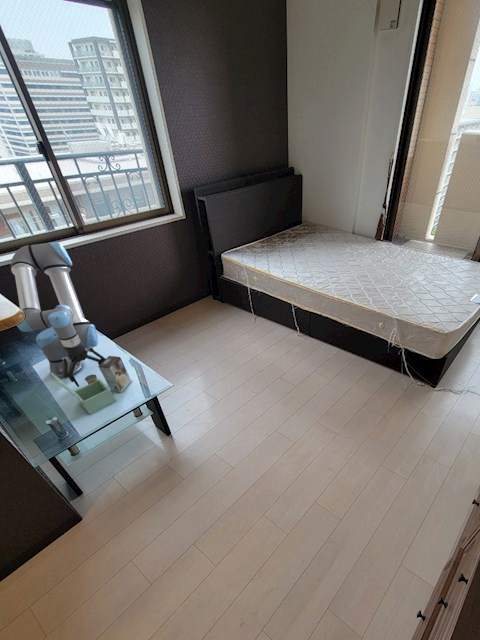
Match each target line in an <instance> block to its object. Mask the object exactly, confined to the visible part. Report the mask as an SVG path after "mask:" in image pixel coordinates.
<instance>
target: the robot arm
mask: <svg viewBox="0 0 480 640" xmlns="http://www.w3.org/2000/svg"><path fill="white" fill-rule="evenodd" d="M71 266H73V262H72V260H71V257H70V256H69V254H68V252H67V250H66V249H65V247H64V246H63V245H62V243H61V242H57V241H55V242H51V241H49V242H45V243H39V244H29V245H28V244H27V245H24V246H21V247H20V248H19V249H17V250H16V251H15V253H14V254H13V256H12V258H11V261H10V270H11V274H13V275H14V278H15V285H16V291H17V292H16V293H17V297H18V305H19V309H20V308H21V309H22V310H23V311H24V312H25V314H26V318H25V320H24V321H23V322H22V323H21V324H19V325H16V327H17V328H18V329H19V330H20V331H21V332H23V333H28V332H34V331H39V330H43V329H44V330H43V331H41V332H40V333H38V334H37V335H36V338H35V341H36V344H37V345H38V347H39V349H41V352H42V353H43V354H44V356H45V357H46V359H47V361H48V362H49V363H48V365H49V370H50V371H49V372H50V374H51V373H53V374H55V375H56V376H57V377H58V378H59V379H60V378H64V379H67V378H68V379H69V380H70V382H71V383H74V385H75V386H76V387H77V388H79V387H80V384H79V383H78V381H77V380H76V377H75V376H74V375H77V373H79V372H80V371H81V370H82V369H83V367H84V363H83V362H82V361H85V360H86V359H87V360H90V361H94V362H96V363H97V364H98V366H99V365H100V364H101V363H102V362H103V361H104V360H105V359H106V357H104V356H103V355H101V353H98V352H97V351H96V350H94V348H96V347H97V346H98V344H99V337H98V336H99V335H98V332H97V328H96V326H95V325H94V324H93V323H91V322H90V321H89V320H88V319H86V318H85V314H84V313H83V309H82V307H81V304H80V301H79V299H78V296H77V293H76V290H75V286H74V284H73V282H72V279H71V276H70V272H71V271H72V270H71ZM38 271H43V272H44V274H45V275H47V276H49V280H50V281H51V285H52V287H53V289H54V292H55V295H56V297H57V300H58V302H59V304H58V305H56V306H55V307H54V308H53V309H48V310H43V311H42V310H41V305H40V304H41V303H40V300H39V299H40V298H39V293H38V288H37V282H36V276H37V272H38ZM89 353H92V354H93V355H95V356H96V357H94V356H93V355H90V354H89ZM80 388H81V387H80Z"/></svg>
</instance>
